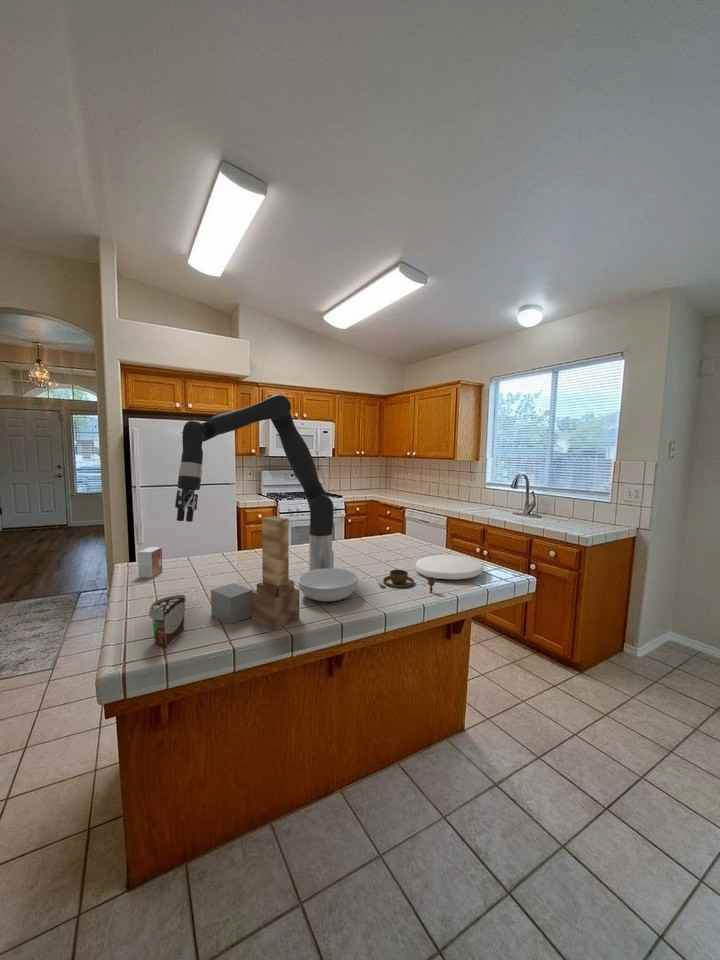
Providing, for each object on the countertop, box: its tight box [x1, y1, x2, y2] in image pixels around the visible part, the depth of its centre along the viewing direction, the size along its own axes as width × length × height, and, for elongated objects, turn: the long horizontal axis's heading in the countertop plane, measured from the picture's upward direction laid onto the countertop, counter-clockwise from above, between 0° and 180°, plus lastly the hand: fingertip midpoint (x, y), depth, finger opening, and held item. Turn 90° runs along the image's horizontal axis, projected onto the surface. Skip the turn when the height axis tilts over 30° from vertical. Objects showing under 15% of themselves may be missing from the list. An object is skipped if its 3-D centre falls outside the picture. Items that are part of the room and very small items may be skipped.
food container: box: [148, 594, 187, 648], centre depth 104 cm, size 12×6×10 cm, turn 178°
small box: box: [137, 546, 163, 579], centre depth 156 cm, size 8×6×10 cm
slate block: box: [210, 582, 254, 625], centre depth 119 cm, size 8×10×8 cm
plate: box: [415, 554, 484, 580], centre depth 163 cm, size 28×6×27 cm
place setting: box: [377, 569, 436, 594], centre depth 146 cm, size 18×20×6 cm
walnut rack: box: [251, 579, 300, 631], centre depth 116 cm, size 10×10×12 cm
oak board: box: [261, 515, 290, 595], centre depth 115 cm, size 4×7×22 cm, turn 54°
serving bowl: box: [297, 568, 359, 602], centre depth 136 cm, size 21×21×7 cm
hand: (184, 521), depth 137 cm, fingers open, 8 cm apart
